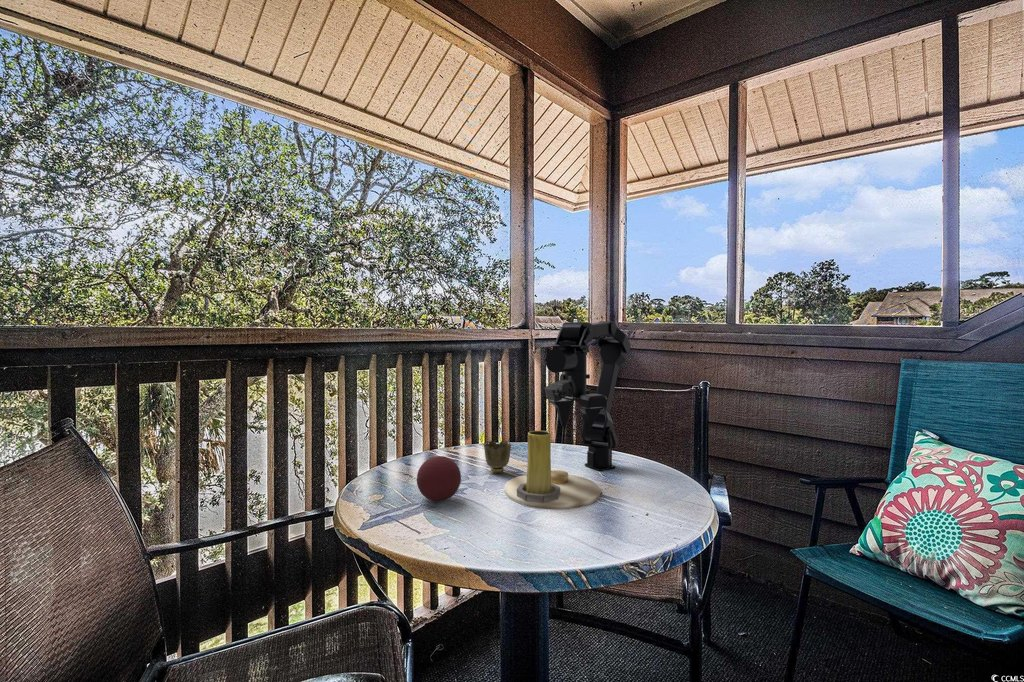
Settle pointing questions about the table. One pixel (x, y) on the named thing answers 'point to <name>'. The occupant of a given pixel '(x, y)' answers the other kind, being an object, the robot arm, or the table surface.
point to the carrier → (555, 491)
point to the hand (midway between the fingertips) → (574, 430)
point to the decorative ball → (438, 478)
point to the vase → (539, 463)
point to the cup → (497, 455)
